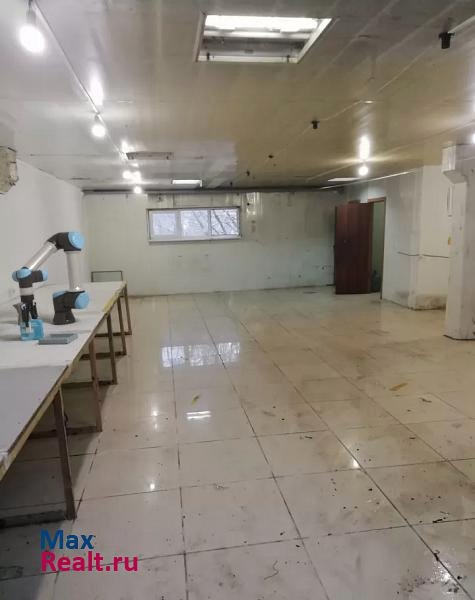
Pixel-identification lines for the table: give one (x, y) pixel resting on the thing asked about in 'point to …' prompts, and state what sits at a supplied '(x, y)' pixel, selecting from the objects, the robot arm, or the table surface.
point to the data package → (32, 330)
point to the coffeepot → (19, 311)
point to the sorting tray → (58, 339)
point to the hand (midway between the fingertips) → (31, 330)
